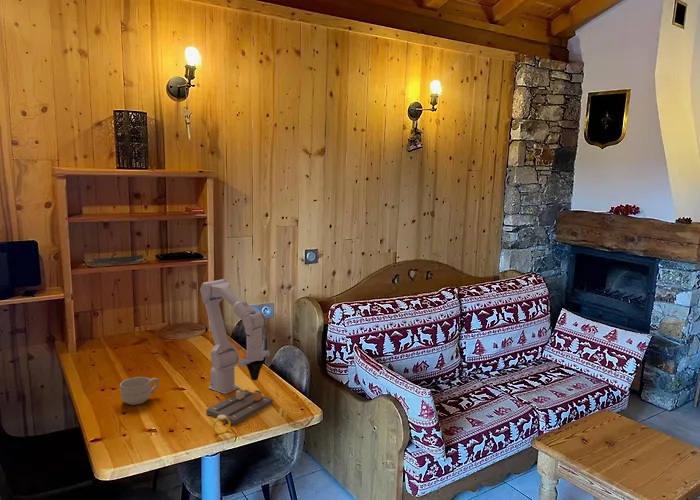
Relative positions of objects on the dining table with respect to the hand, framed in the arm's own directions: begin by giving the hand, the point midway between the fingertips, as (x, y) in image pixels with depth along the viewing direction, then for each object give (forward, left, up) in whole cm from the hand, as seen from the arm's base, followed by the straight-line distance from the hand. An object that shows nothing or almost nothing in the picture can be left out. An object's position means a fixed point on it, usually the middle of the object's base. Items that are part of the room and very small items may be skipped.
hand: (254, 379), depth 196 cm
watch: (+6, -23, -10) cm, 25 cm away
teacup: (-36, -24, -10) cm, 44 cm away
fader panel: (-1, -7, -9) cm, 12 cm away
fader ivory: (-4, -4, -7) cm, 9 cm away
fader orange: (+2, -1, -7) cm, 8 cm away
